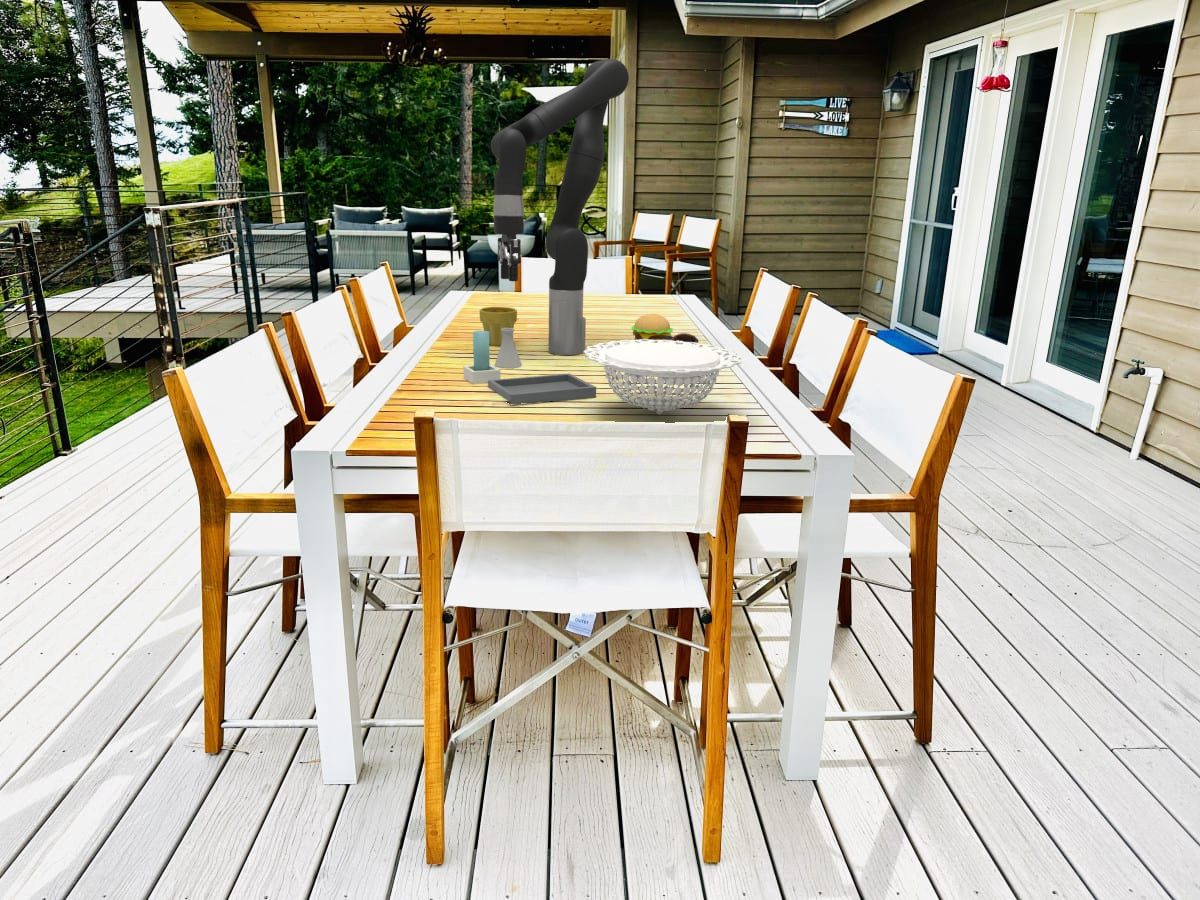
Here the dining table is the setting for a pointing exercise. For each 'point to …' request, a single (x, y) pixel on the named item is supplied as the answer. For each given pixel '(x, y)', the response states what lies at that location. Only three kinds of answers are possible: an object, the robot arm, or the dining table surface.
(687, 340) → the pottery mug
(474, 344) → the dowel
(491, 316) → the plant pot
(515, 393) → the tray
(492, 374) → the tray
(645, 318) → the hamburger
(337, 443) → the dining table surface
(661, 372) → the colander
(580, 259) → the robot arm
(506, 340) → the flask
